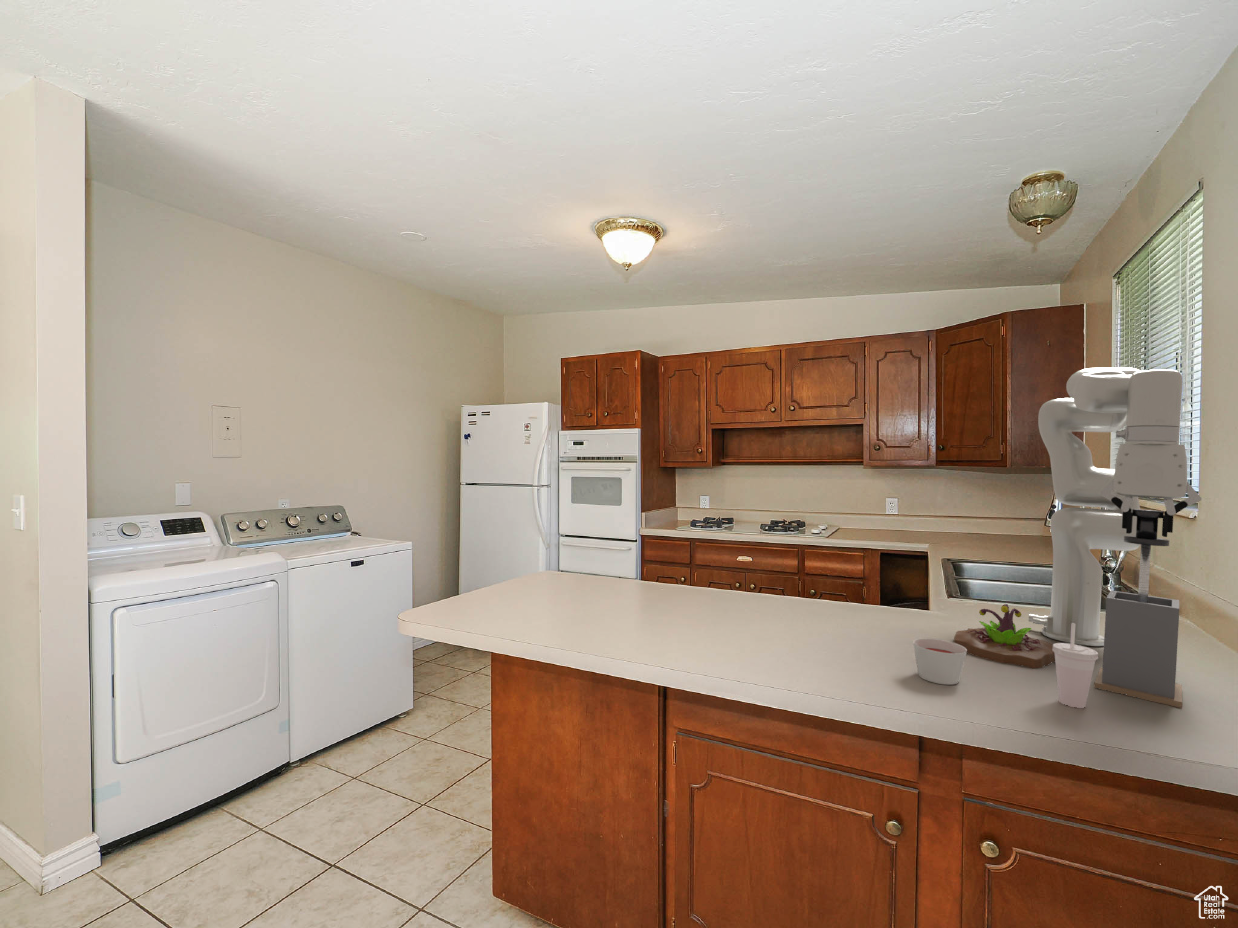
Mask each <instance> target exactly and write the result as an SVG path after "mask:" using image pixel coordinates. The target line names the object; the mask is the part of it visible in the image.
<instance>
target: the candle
mask: <svg viewBox="0 0 1238 928" xmlns="http://www.w3.org/2000/svg"><path fill="white" fill-rule="evenodd" d="M913 649H914V656H915V657H914V658H915V661H916V670H917V674H918V676H919V677H920V678H921V679H923V680H925V681H927V682H930V683H934V684H939V685H949V686H950V685H951V686H952V685H956V684H958V683H959V682H960V679H961V676H962V671H963V669H964V668H963V667H964V664H965V661H966V657H967V654H968V653H967V649H966V648H965V647H963V646H961V645H959V644H956V643H954V641H953V642H952V641H949V640H943V639H938V638H931V637H930V638H928V637H925V638H923V637H922V638H916V639H913Z"/></svg>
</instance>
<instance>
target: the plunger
mask: <svg viewBox="0 0 1238 928" xmlns="http://www.w3.org/2000/svg"><path fill="white" fill-rule="evenodd" d="M1163 515H1165V511H1164V510H1154V509H1142V508H1140V509H1132V516H1137V524H1136V536H1124V542H1128V543H1134V544H1141V545H1140V556H1139V558H1140V559H1139V573H1138V575H1139V577H1138V591H1137V594H1138V602H1144V603H1148V596H1149V589H1150V588H1149V587H1150V573H1151V572H1150V571H1151V570H1150V568H1151V554H1152V553H1151V552H1152V551H1151V550H1152V548H1151V547H1152V546H1155V547H1170V539H1166V538H1162V537H1161V538H1160V537H1158V530H1159V529H1158V527H1159V519H1163Z"/></svg>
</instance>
